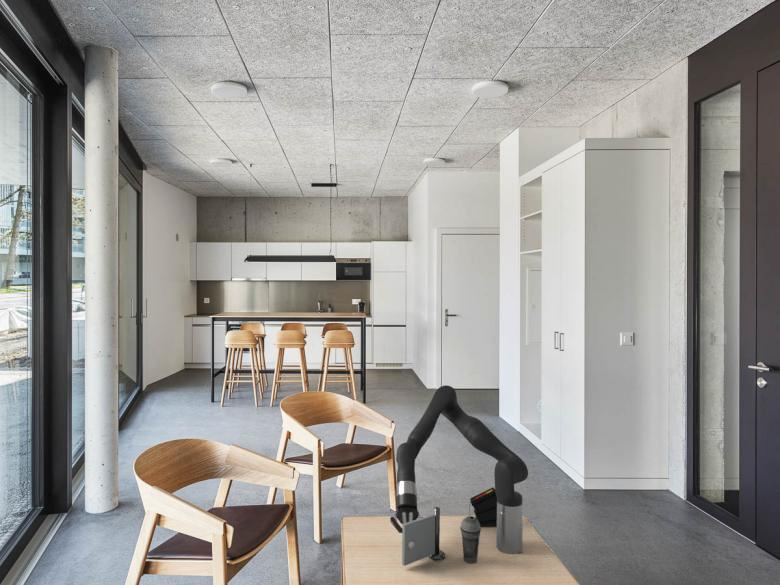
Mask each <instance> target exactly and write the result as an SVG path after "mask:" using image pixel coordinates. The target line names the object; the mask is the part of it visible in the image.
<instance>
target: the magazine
mask: <svg viewBox="0 0 780 585" xmlns="http://www.w3.org/2000/svg"><path fill="white" fill-rule="evenodd" d="M469 501H470V505H471V506H472V507H473V512H474V515H475V516H474V517H475V518H476V519H477V520H478V521H479V523H480V526H481V528H487V527H488V528H495V527H496V528H497V496H496V493H495V486H494V487H491V488H488V489H486V490H485V491H483V492H480V493H479V494H476V495H474V496H473V497H470V498H469Z"/></svg>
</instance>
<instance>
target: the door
mask: <svg viewBox="0 0 780 585" xmlns="http://www.w3.org/2000/svg"><path fill="white" fill-rule="evenodd" d="M421 517H422V518H419V519H418V518H417V519H416V520H413V521H410V522H407V523H404V524H401V525H402V526H401V528H402V533H401V534H402V535H401V537H402V538H401V539H402V541H401V547H402V548H401V565H402V566H404V567H406V566H408V565H411V564H413V563H416V562H418V561H421V560H423V559H426V558H429V557H428V556H431V555H434V554H435V515H434V513H432V514H429V515H426V516H421Z"/></svg>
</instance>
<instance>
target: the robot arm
mask: <svg viewBox="0 0 780 585" xmlns="http://www.w3.org/2000/svg"><path fill="white" fill-rule="evenodd" d="M441 415H442V416H443V417H444V418H446V419H447V420H448V421H449V422H451V424H452V425H453V426H454V427H455V428H456V429H457V430H458V431H459V432H460V434H461V435H462V436H463V437H464V438H465V440H467V442H469V444H470V445H471V446H472V447H473V448H475V450H478V451H480V452H481V453H484V454H486V455H488V456H490V457H491V458H494V459H495V460H496V461H497V462H496V464H495V466H494V471H493V473H494V476H493V477H494V489H495V493H496V496H497V527H496V537H495V538H496V541H495V543H496V544H495V546H496V549H497V550H498V551H499V552H502V553H504V554H518V553H523V532H524V531H523V529H524V528H523V495H522V494H521V493H520V492H518V491H515V485H516V484H519V483H521V482H524V481H526V480H527V478H528V476H529V469H528V467H527V465H526V463H525V461H524V460H523V459H522V458H521V457H519V455H517V454H516V453H515V452H514V451H512V449H510V448H509V447H507V446H506V445H505V444H504V443H503V442H502V441H501V440H500V439H499V437H497V436H496V435H495V434H494V433H493V432H492V431H491V430H490V429H489V428H488V427H487V425H486V424H485V423H484V422H482V421H481V420H480V419H479V418H477V417H475V416H472V415H468V414H467V413H466V412H465V411H464V409H462V408H461V406H460V405H459V403H458V397H457V391H456V390H455V388H454V387H453V386H450V385H442V386H439V387H438V388H437V389H436V391H435V392H434V394H433V396H432V398H431V400H430V402H429V404H428V406H427V407H426V409H425V411H424V413H423V415H422V416H421V418H420V419H419V421H418V422H417V423H416V424H415V426H414V428H413V429H412V430H411V432H410V433H409V435H408V437H407V440H406V441H405V442H403V443H401V444H400V445H399V446H398V447H397V449H396V456H395V460H396V463H397V471H396V494H395V496H396V511H395V514H394V515H393V516H390V518H389V520H390V521H389V522H390V523H391V525H392V526H393V527H394V528H395V530H396V531H397V532H398V533H399V534H402V526H401V525H402V524H404V523H407V522H410V521H413V520H416V519H419V518H422V517H423V516H422V515H421V514H420V512H419V510H418V492H417V486H416V485H417V484H416V471H415V470H416V469H415V465H416V459H417V458H418V456H419V454H420V452H421V450H422V448H423V447H424V445H425V444H426V442H427V441H428V440H429V438H430V437H431V435H432V434H433V432H434V429H435V427H436V424H437V422H438V420H439V417H440V416H441ZM398 522H400V524H401V525H400V524H399V523H398Z"/></svg>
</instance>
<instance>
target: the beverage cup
mask: <svg viewBox="0 0 780 585" xmlns="http://www.w3.org/2000/svg"><path fill="white" fill-rule="evenodd" d="M459 528H460V532H461V542H462V554H463V555H462V556H463V562H464V563H466V564H469V565H474V564H477V562H478V561H477V560H478V555H479V554H478V553H479V543H480V536H481V533H482V527H481V526H480V523H479V521H478V520H477V519H476V516H471V502H470V503H469V502H468V516H466V517H464V518H463V520H461V524H460V527H459Z"/></svg>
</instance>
